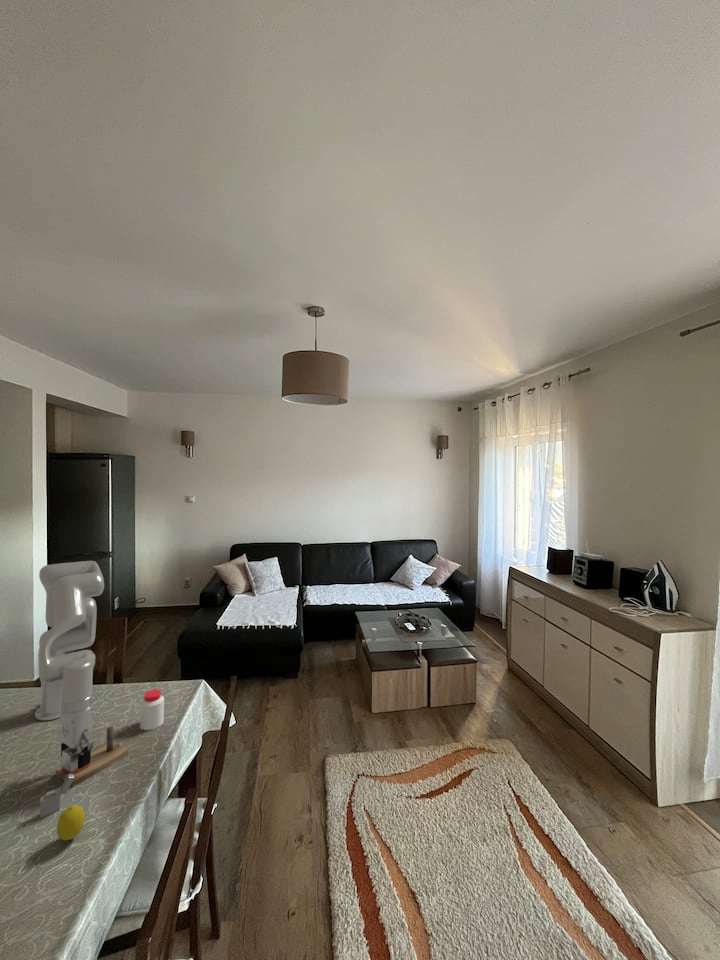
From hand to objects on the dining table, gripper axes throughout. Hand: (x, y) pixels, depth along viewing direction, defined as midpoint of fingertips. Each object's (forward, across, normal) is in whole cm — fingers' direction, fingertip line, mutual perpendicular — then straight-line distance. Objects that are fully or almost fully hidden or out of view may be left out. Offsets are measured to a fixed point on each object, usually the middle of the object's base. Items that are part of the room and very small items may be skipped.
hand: (75, 759), depth 119 cm
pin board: (+4, 0, +5) cm, 7 cm away
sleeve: (+3, 0, 0) cm, 3 cm away
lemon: (+4, +23, -12) cm, 26 cm away
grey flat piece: (+4, +10, -9) cm, 14 cm away
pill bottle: (+5, -4, +27) cm, 28 cm away
